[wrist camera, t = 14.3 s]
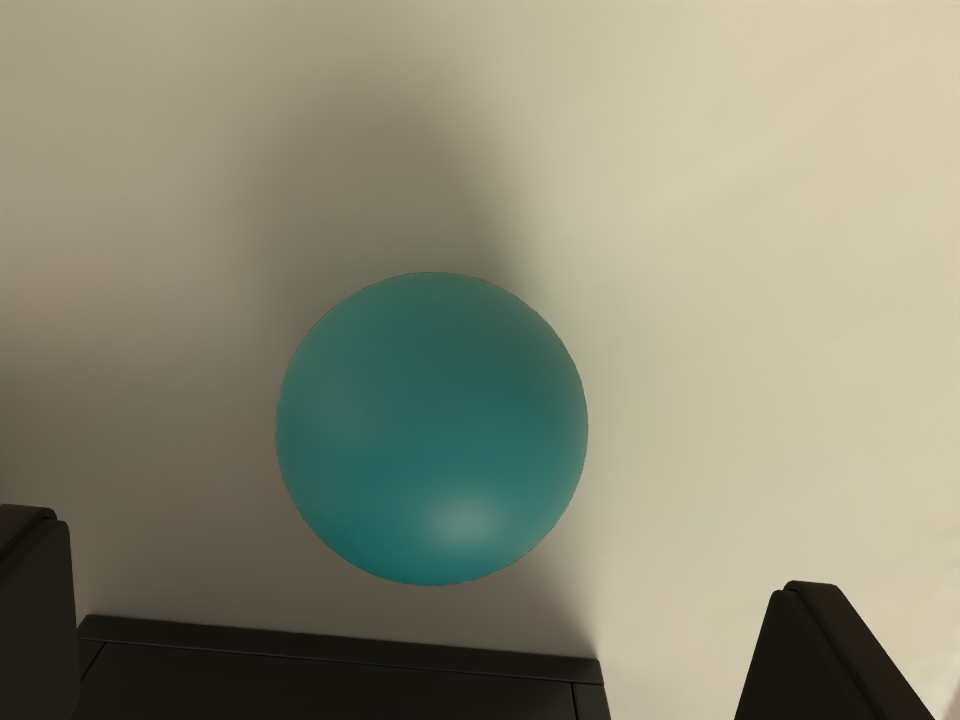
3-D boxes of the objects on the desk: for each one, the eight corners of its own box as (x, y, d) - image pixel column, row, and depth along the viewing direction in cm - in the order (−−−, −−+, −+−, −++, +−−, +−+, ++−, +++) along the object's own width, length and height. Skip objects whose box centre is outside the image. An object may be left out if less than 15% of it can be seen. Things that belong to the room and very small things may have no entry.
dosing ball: (374, 194, 16) (322, 261, 11) (616, 314, 17) (685, 433, 12) (272, 421, 18) (182, 580, 12) (495, 517, 19) (505, 702, 14)
